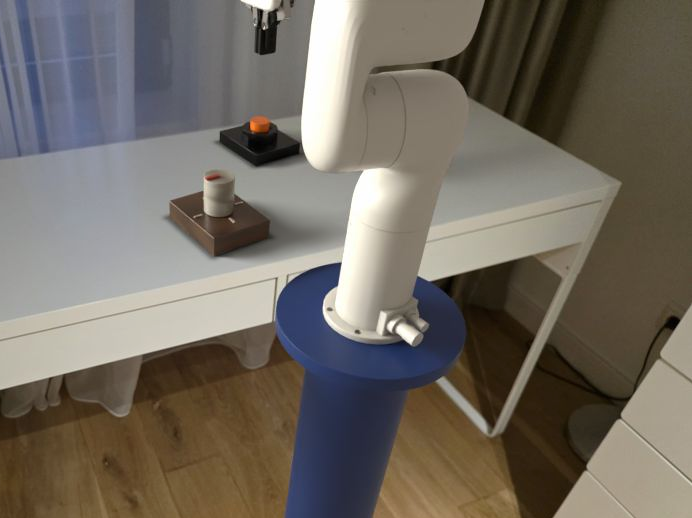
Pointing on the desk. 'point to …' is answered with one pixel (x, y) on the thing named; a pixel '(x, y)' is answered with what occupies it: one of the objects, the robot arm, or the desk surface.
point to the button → (260, 124)
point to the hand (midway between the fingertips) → (264, 52)
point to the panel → (219, 223)
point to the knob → (219, 193)
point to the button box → (259, 144)
